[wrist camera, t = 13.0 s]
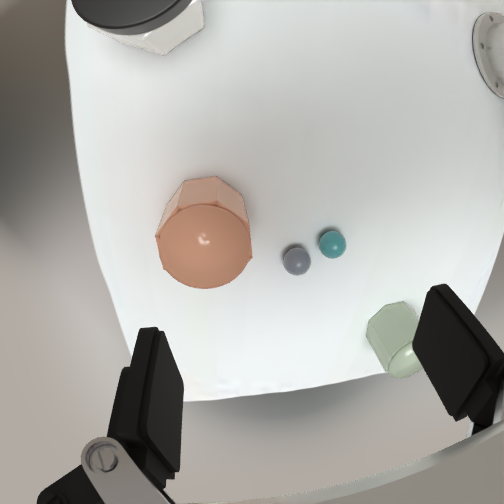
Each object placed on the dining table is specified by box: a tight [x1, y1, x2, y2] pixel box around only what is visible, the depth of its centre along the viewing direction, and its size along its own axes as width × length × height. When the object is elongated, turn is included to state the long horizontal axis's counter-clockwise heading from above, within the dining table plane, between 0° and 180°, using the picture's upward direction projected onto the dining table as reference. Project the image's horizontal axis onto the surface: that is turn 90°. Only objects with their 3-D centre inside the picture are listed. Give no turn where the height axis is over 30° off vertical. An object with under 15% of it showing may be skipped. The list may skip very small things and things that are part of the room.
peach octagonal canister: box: [155, 176, 252, 289], centre depth 29 cm, size 8×8×8 cm
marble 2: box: [319, 231, 346, 259], centre depth 34 cm, size 3×3×3 cm
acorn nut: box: [366, 301, 423, 379], centre depth 40 cm, size 8×8×8 cm
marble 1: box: [283, 248, 311, 275], centre depth 34 cm, size 3×3×3 cm
